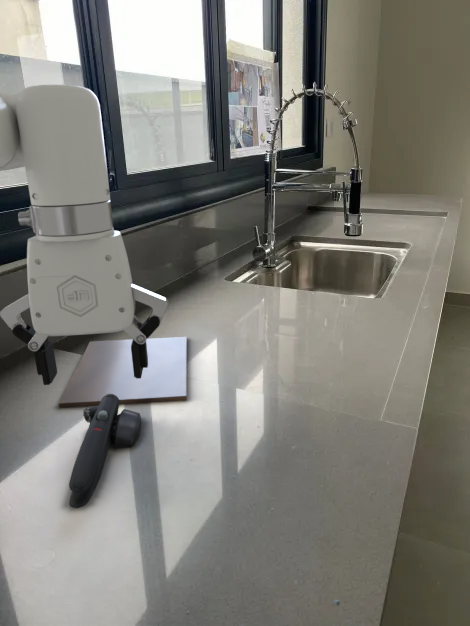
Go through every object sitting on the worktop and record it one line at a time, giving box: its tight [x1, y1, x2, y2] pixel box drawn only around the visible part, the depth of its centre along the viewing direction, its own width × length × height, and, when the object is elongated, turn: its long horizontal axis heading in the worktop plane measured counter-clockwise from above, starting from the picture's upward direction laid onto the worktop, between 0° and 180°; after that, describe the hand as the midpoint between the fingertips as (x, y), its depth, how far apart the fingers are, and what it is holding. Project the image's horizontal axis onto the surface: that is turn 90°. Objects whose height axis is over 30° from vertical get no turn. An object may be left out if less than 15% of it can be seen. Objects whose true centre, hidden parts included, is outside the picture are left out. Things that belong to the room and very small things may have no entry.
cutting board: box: [57, 336, 188, 409], centre depth 82 cm, size 18×24×2 cm
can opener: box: [68, 394, 142, 509], centre depth 58 cm, size 18×7×6 cm, turn 178°
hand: (95, 376), depth 55 cm, fingers open, 9 cm apart
